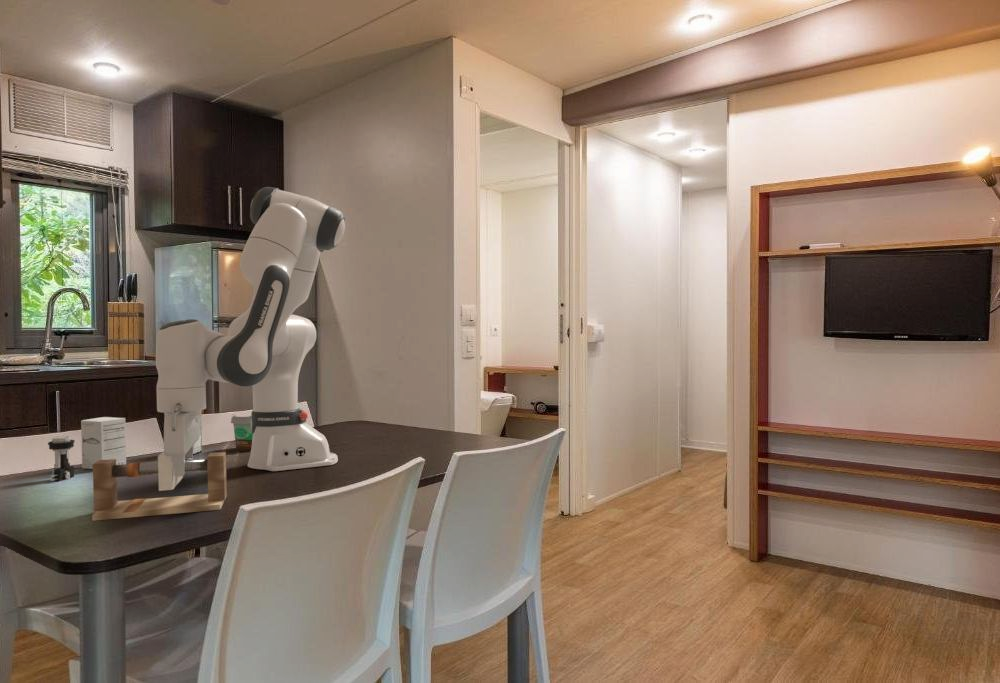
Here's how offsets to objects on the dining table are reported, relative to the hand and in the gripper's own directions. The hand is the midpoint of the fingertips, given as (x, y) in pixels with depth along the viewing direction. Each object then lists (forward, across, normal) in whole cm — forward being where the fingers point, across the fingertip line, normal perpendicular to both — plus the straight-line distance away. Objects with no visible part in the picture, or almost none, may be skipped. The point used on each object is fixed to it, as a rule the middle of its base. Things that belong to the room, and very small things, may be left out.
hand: (183, 470), depth 131 cm
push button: (+7, +38, +33) cm, 50 cm away
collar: (+2, 0, +2) cm, 3 cm away
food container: (+7, +63, -8) cm, 64 cm away
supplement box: (+7, +50, +26) cm, 57 cm away
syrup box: (+7, +62, +8) cm, 63 cm away
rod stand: (+7, 0, +4) cm, 8 cm away
